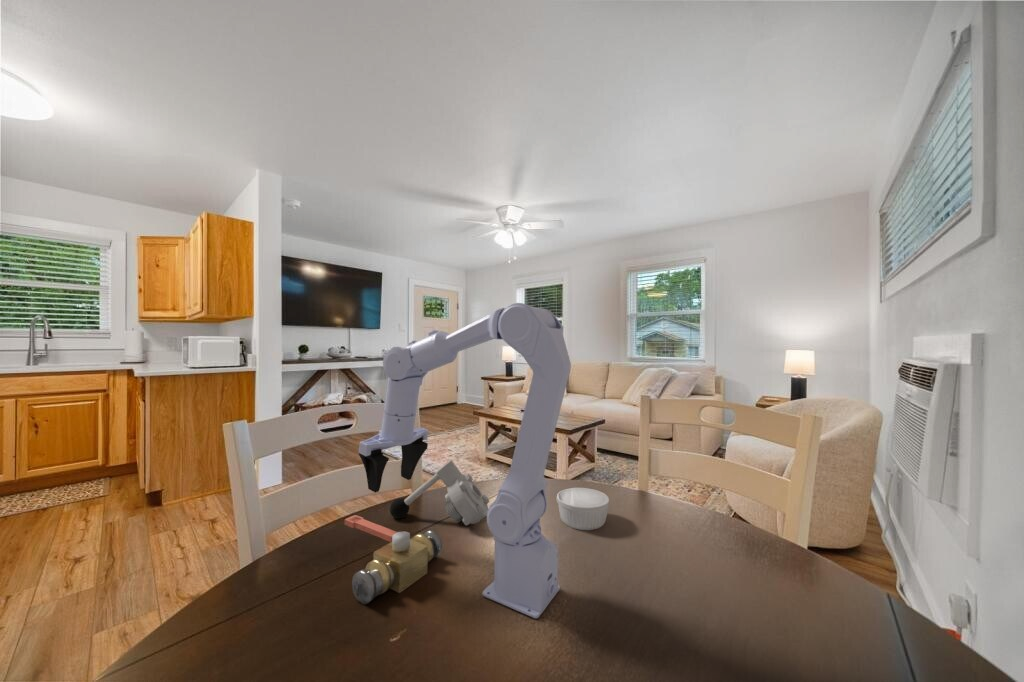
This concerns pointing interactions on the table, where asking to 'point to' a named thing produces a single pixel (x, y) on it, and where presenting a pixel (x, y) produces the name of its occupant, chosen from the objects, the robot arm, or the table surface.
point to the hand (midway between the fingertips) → (390, 483)
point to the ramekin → (583, 508)
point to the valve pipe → (396, 567)
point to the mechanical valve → (450, 496)
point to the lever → (381, 532)
